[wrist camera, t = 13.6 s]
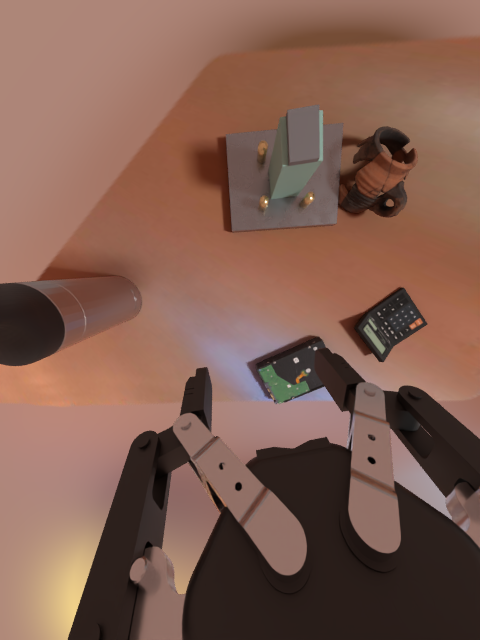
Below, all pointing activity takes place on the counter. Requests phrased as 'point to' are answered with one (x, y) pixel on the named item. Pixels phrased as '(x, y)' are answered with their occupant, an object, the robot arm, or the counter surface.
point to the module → (296, 151)
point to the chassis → (254, 184)
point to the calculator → (389, 323)
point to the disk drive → (291, 372)
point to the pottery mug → (380, 174)
